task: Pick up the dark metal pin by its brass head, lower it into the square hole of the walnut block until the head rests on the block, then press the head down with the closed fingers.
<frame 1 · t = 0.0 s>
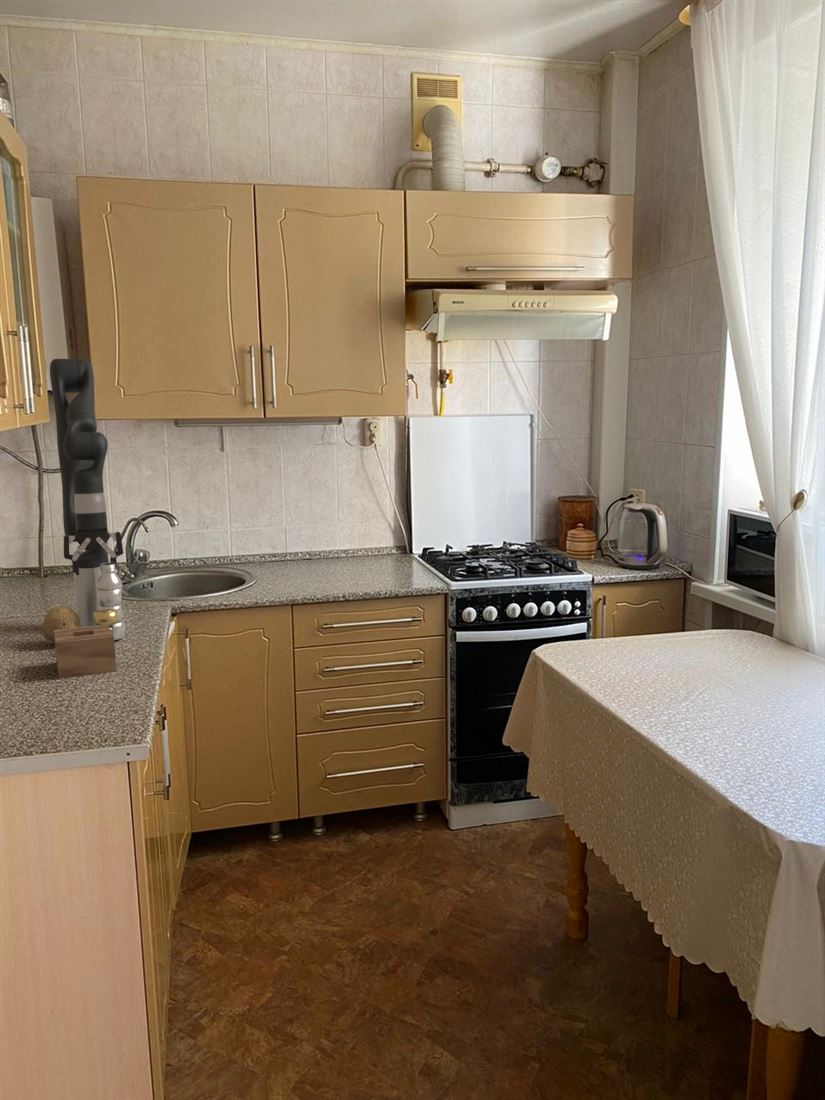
hand: (95, 573, 215), 17 cm above the worktop, tool pointing down, fingers open, 8 cm apart
plastic bottle: (113, 640, 216), on the worktop
natural sponge: (62, 645, 212), on the worktop
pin: (108, 650, 206), on the worktop
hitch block: (86, 667, 192), on the worktop
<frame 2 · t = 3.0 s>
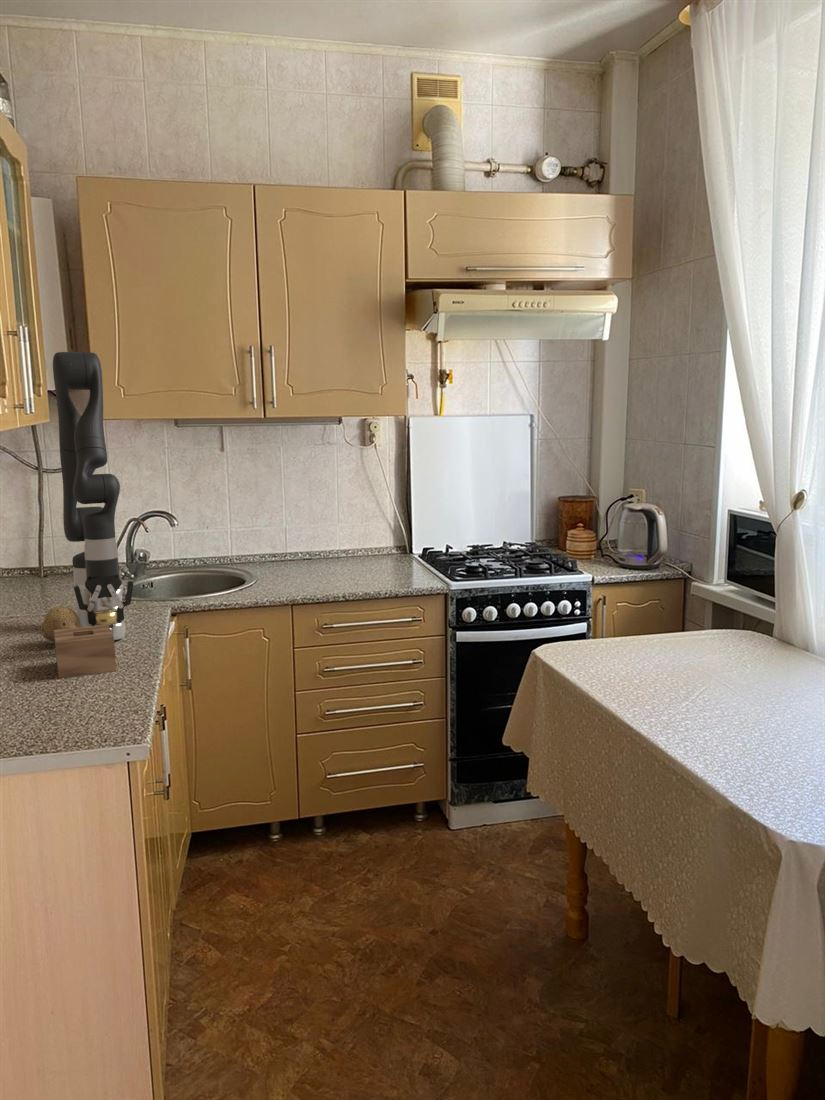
hand: (106, 623, 205), 7 cm above the worktop, tool pointing down, fingers closed on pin, 5 cm apart
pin: (108, 650, 206), on the worktop, touching gripper
everything else where it was.
when the fingers open (9 cm above the worktop, at t = 9.2 s): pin stays where it is, resting on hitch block.
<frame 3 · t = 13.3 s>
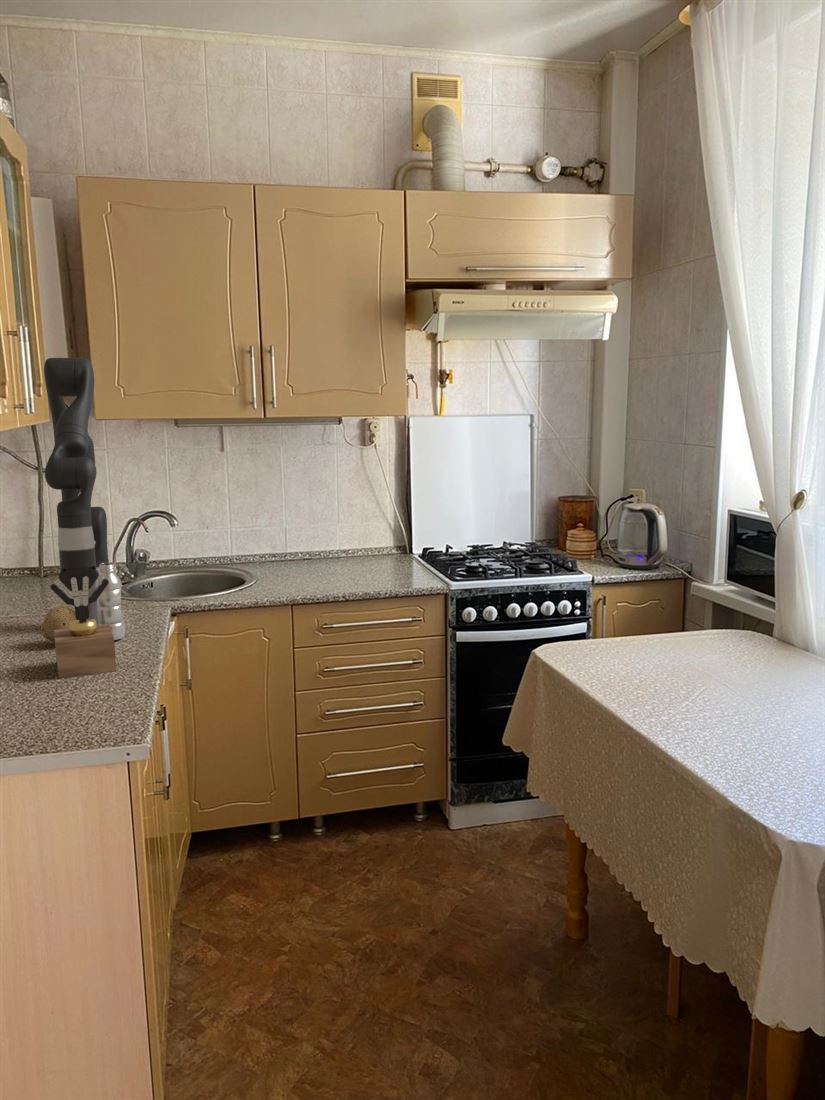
hand: (82, 621, 190), 11 cm above the worktop, tool pointing down, fingers closed
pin: (86, 662, 192), point 1 cm above the worktop, touching gripper, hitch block
everything else where it was.
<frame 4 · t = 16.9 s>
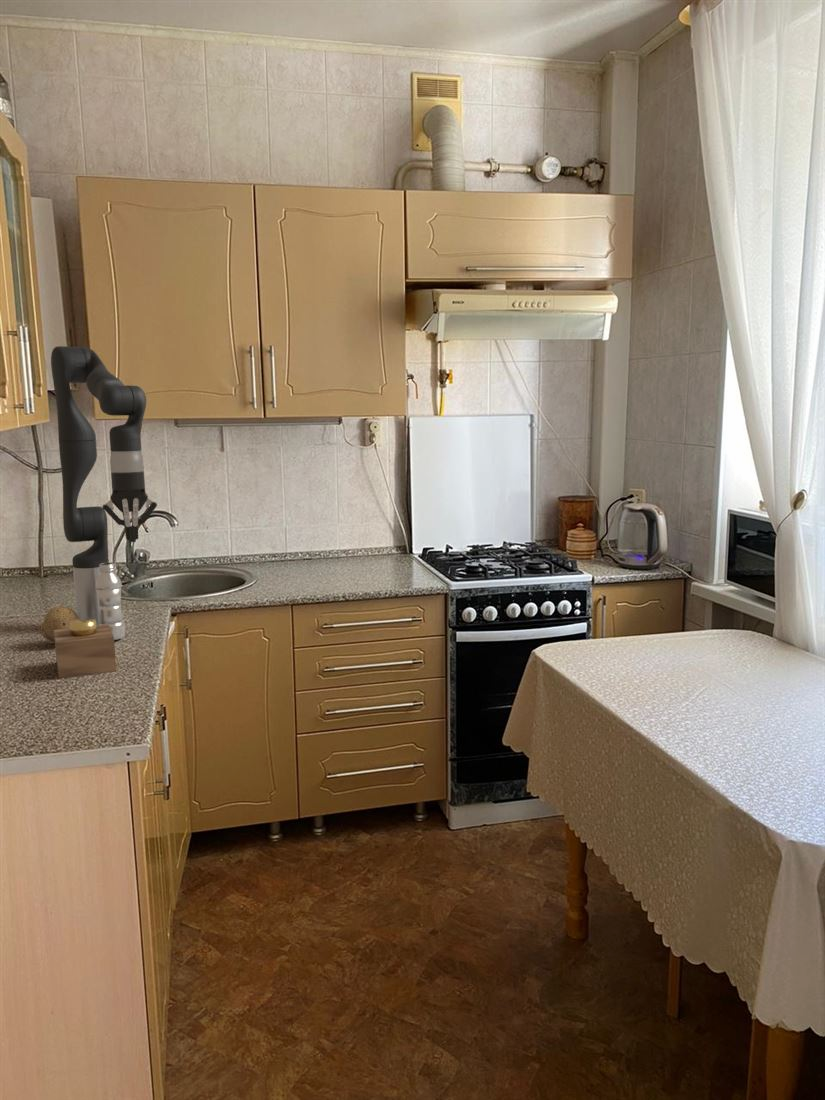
hand: (132, 541, 202), 27 cm above the worktop, tool pointing down, fingers closed
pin: (86, 662, 192), point 1 cm above the worktop, touching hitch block
everything else where it was.
at the end: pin 0.1 cm off-centre on the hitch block, point 1.0 cm above the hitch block's base; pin tilted 0°; the gripper is holding nothing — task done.
